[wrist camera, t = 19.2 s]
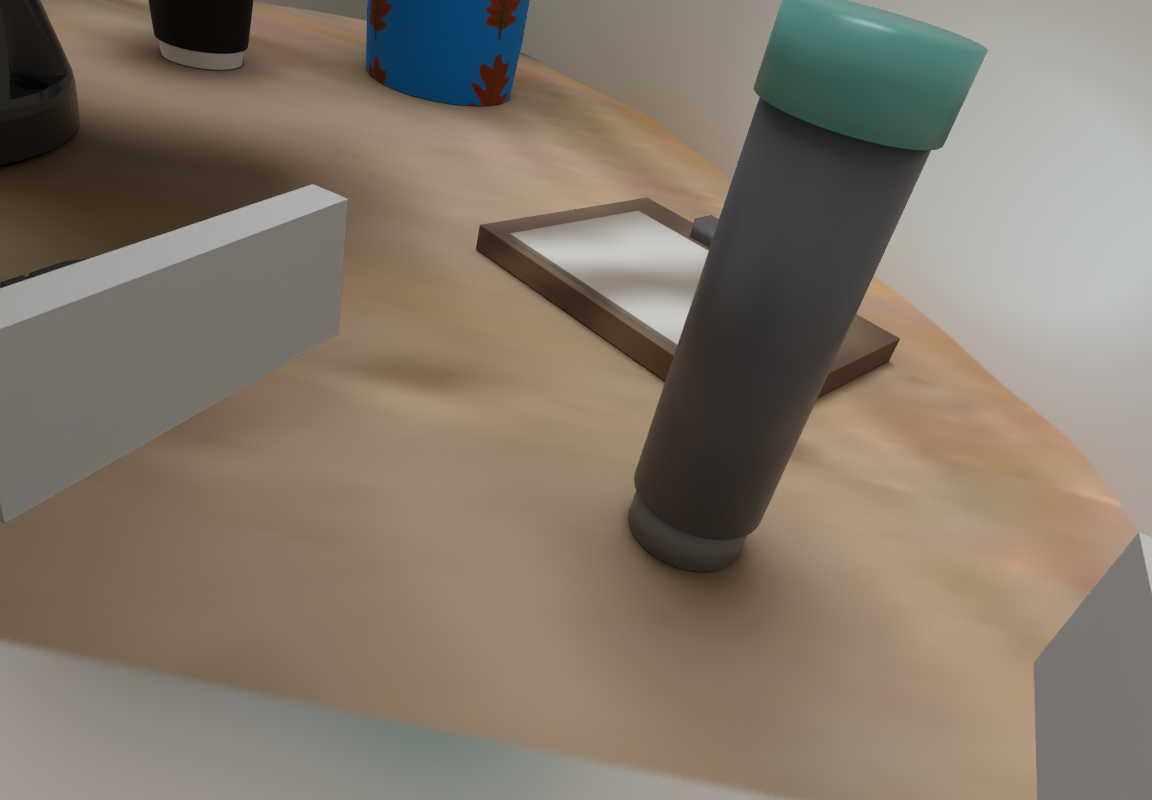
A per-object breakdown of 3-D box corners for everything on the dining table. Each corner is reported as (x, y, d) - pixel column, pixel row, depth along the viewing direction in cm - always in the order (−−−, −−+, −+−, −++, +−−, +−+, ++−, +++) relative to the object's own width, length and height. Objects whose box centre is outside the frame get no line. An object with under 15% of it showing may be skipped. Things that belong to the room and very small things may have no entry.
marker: (587, 511, 26) (745, -15, 18) (675, 466, 29) (847, -3, 20) (694, 605, 24) (933, 51, 15) (779, 545, 26) (1018, 53, 18)
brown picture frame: (476, 248, 39) (483, 204, 38) (641, 217, 47) (652, 180, 46) (743, 436, 31) (763, 387, 30) (889, 360, 39) (909, 320, 38)
